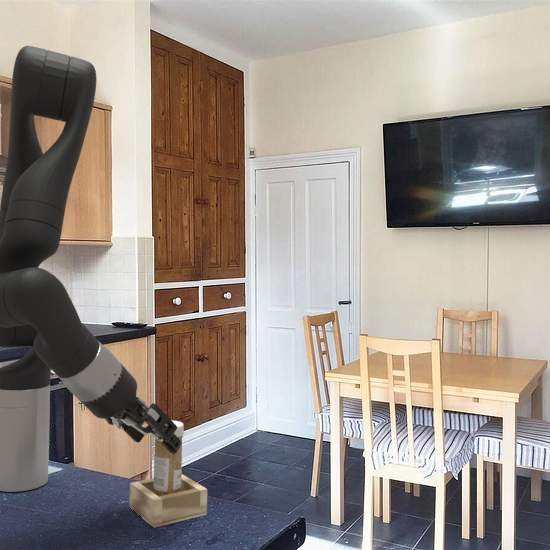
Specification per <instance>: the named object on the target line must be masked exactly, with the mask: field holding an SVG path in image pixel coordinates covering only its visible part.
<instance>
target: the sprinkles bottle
mask: <svg viewBox="0 0 550 550" xmlns="http://www.w3.org/2000/svg"><path fill="white" fill-rule="evenodd" d="M170 420H171V421H172V422H173V423H174V424H175V425H176V426H177V427H178V428H177V429H176V431H175V432H174V434H175V435H176V436H177V437H178V438H179V439H180V441H181V442H182V444H183V437H184V433H185V429H184V427H185V426H184V425H185V424H184V423H183V422H182V421H179V420H174V419H170ZM154 439H155V440H154V455H153V456H154V458H153V478H154V494H156V495H157V496H164V495H168V494H173V493H177V492H181V474H183V473H182V467H183V462H182V461H183V456H182V455H183V454H182V453H183V452H182V451H183V445H182V444H181V446H180V448H179V449H178V451H177V452H176V454H172V453H170V452H169V451H168V450H167V449H166V448H165V447H164V446H163V445H162V444H161V443H160V442H159V441H158V440H157V439H156V438H154Z"/></svg>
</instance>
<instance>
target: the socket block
mask: <svg viewBox="0 0 550 550" xmlns="http://www.w3.org/2000/svg"><path fill="white" fill-rule="evenodd" d="M129 507H130V508H131V509H132V510H131V509H130V508H129V509H130V510H131V511H133V510H134V511H135V512H136V513H137V514H136V513H135V512H134V511H133V512H134V513H135V514H136V515H137V516H139V515H140V516H141V517H142V520H144V521H145V522H146V523H147V524H149V525H150V526H151V527H152V528H154V529H155V528H158V527H163V526H167V525H171V524H175V523H178V522H183V521H187V520H190V519H194V518H199V517H202V516H203V517H204V516H207V514H208V488H206V487H205V486H202V485H201V484H200V483H198V482H196V481H195V480H192V479H191V478H189V477H188V476H186V475H185V474H183V473H182V474H181V492H177V493H173V494H168V495H164V496H157V495H156V494H154V477H152V478H148V479H143V480H138V481H132V482H130V483H129ZM140 516H139V517H140ZM141 517H140V518H141Z"/></svg>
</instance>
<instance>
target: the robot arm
mask: <svg viewBox="0 0 550 550" xmlns="http://www.w3.org/2000/svg"><path fill="white" fill-rule="evenodd" d="M15 57H16V58H15V60H14V65H13V70H12V79H11V91H10V93H11V94H10V112H9V113H10V114H9V133H8V135H9V136H8V148H7V149H8V150H7V157H6V165H5V171H4V172H5V173H4V178H3V179H4V180H3V186H2V190H1V191H2V192H1V199H0V348H21V347H24V348H25V347H26V348H27V347H30V349H29V351H28V352H27V353H26V354H25V355H23V357H21V358H19V359H18V360H16V361H14V362H12V363H8V364H7V365H4V366H0V492H7V493H13V492H14V493H15V492H24V491H30V490H35V489H38V488H40V487H43V486H44V485H46V484H47V483H48V481H49V462H50V461H49V459H50V458H49V456H50V417H51V415H50V414H51V413H50V412H51V409H50V408H51V400H50V399H51V374H52V372H53V373H54V374H55V375H56V376H57V377H58V378H59V379H60V381H62V383H63V385H64V386H65V388H66V389H67V390H68V391H69V392H70V393H71V394H72V395H73V396H74V397H76V399H78V401H79V402H80V403H82V405H83V406H84V407H86V409H87V410H89V411H90V413H92V415H93V416H95V417H96V418H99V419H104V420H105V421H106V422H107V423H108V425H110V426H114V425H115V427H116V428H117V429H119V430H123V432H125V433H126V434H127V436H128V437H130V439H132V441H133V442H135V443H140V442H142V440H143V438H144V437H145V436H148V435H150V436H152V437H153V438H154V439H155V438H156V439H157V440H158V441H159V442H160V443H161V444H162V445H163V446H164V447H165V448H166V449H167V450H168V451H169V452H170V453H172V454H176V452H177V451H178V449H179V448H180V446H181V444H183V441H182V442H181V441H180V439H179V438H178V437H177V436H176V435H175V434H174V432H175V431H176V429H177V428H178V427H177V426H176V425H175V424H174V423H173V422H172V421H171V420H172V419H171V418H170V417H169V416H168V415H167V414H166V413H165V412H164V411H163V410H162V409H161V408H160V406H159V405H158V404H156V403H154V402H153V403H151V404H150V406H149V405H147V403H146V402H145V400H143V399H142V398H140V397H138V396H137V391H138V382H137V379H136V378H135V377H134V376H133V375H132V373H130V371H129V370H128V369H127V368H126V367H125V366H124V365H123V364H122V363H121V362H120V361H119V359H118V358H117V357H116V356H115V355H114V354H113V353H112V351H111V350H110V349H108V348H107V347H106V346H105V345H103V343H101V342H100V340H98V339H97V338H96V337H95V335H94V334H93V333H92V332H91V331H90V329H88V327H86V325H85V324H84V323H82V321H81V319H80V318H81V317H80V316H79V313H78V311H77V308H76V307H75V305H74V303H73V301H72V298H71V297H70V295H69V293H68V290H67V289H66V288H65V286H64V284H63V282H61V281H60V279H59V278H58V277H57V276H56V275H54V274H53V273H52V272H50V271H48V270H46V269H45V268H42V267H40V265H41V264H42V263H44V262H45V261H46V260H47V259H49V258H50V257H52V256H54V255H55V254H56V253H57V251H58V249H59V246H60V241H61V236H62V230H63V224H64V219H65V213H66V207H67V201H68V197H69V193H70V189H71V184H72V181H73V179H74V175H75V172H76V169H77V166H78V163H79V160H80V156H81V153H82V149H83V145H84V142H85V139H86V135H87V131H88V128H89V124H90V119H91V116H92V112H93V109H94V103H95V98H96V92H97V71H96V68H95V66H94V65H93V63H92V62H90V61H87V60H86V59H82V58H79V57H75V56H70V55H67V54H64V53H60V52H58V51H57V52H56V51H53V50H49V49H45V48H41V47H37V46H32V45H25V46H23V47H21V49H19V51H18V52H17V55H16V56H15ZM35 116H36V117H40V118H46V119H51V120H54V121H60V122H61V123H64V126H63V129H62V131H61V133H60V135H59V136H58V137H57V139H56V140H55V142H53V144H52V145H51V146H50V147H49V149H47V150H46V151H45V152H43V150H42V147H41V144H40V141H39V138H38V134H37V130H36V124H35ZM144 424H146V426H145V427H144V426H143V425H144Z"/></svg>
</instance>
